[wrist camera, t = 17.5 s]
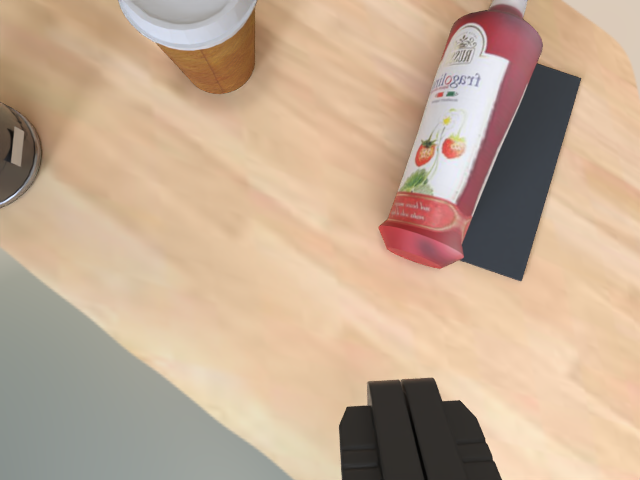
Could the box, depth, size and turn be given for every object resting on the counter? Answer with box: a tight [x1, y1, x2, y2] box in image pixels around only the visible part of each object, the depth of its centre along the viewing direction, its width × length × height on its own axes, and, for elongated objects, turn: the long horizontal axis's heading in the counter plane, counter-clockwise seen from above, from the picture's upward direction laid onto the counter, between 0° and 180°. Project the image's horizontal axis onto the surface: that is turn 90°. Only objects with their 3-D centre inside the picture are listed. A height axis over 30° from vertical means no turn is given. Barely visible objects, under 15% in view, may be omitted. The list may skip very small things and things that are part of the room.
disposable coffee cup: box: [118, 0, 257, 94], centre depth 36 cm, size 10×10×12 cm
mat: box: [460, 64, 581, 281], centre depth 41 cm, size 19×12×1 cm, turn 161°
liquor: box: [379, 0, 543, 268], centre depth 38 cm, size 7×7×28 cm
